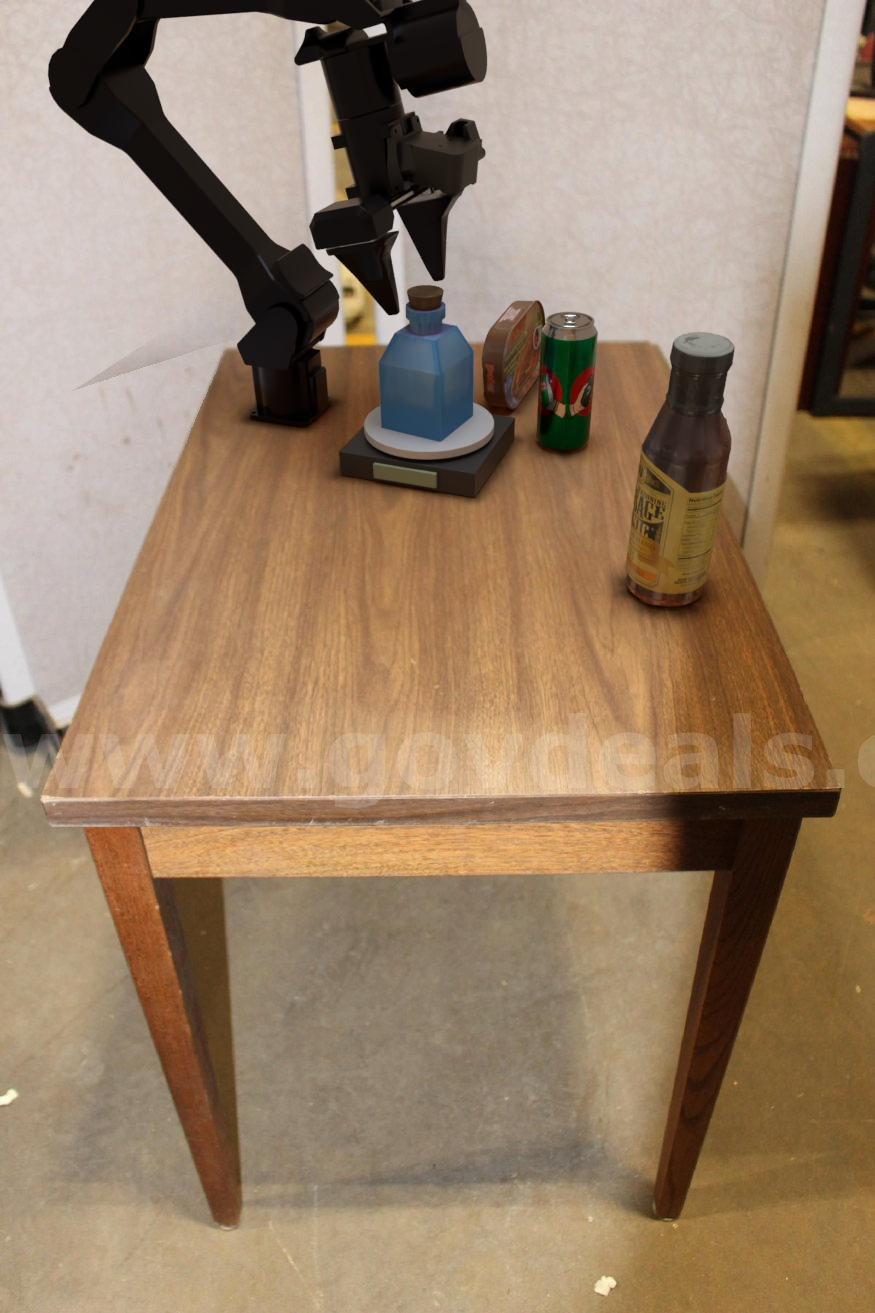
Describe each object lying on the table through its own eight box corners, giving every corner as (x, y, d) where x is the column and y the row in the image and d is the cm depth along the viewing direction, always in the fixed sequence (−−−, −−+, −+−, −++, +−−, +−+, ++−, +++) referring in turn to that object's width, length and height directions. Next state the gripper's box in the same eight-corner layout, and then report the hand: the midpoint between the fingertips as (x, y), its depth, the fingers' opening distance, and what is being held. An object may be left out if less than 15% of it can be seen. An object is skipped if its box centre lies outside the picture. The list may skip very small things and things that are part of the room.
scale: (338, 476, 97) (335, 440, 95) (390, 421, 107) (388, 387, 104) (473, 499, 94) (473, 462, 92) (514, 440, 103) (515, 405, 101)
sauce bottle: (615, 569, 85) (642, 323, 72) (692, 565, 85) (732, 319, 73) (634, 617, 79) (666, 360, 67) (716, 612, 80) (763, 356, 68)
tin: (506, 422, 106) (508, 340, 101) (476, 418, 107) (476, 336, 102) (547, 366, 117) (551, 289, 112) (519, 363, 118) (522, 286, 113)
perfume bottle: (440, 441, 95) (439, 308, 88) (381, 427, 97) (375, 296, 90) (473, 415, 99) (474, 285, 92) (415, 402, 102) (412, 275, 94)
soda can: (588, 431, 104) (598, 310, 97) (589, 455, 100) (599, 330, 93) (536, 430, 105) (542, 308, 97) (535, 453, 101) (541, 329, 93)
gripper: (399, 116, 78) (451, 324, 86) (499, 68, 91) (536, 253, 99) (279, 144, 84) (338, 337, 92) (390, 95, 97) (433, 268, 105)
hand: (417, 296), depth 97 cm, fingers open, 9 cm apart
